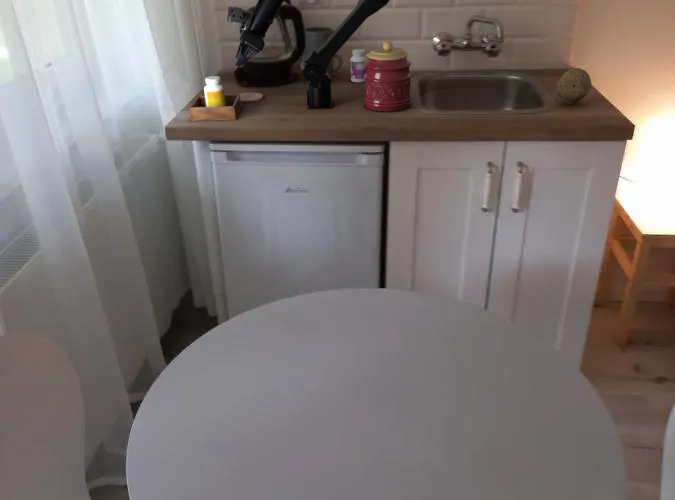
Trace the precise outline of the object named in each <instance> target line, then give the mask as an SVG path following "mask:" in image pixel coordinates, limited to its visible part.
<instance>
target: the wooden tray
mask: <svg viewBox="0 0 675 500" xmlns="http://www.w3.org/2000/svg"><path fill="white" fill-rule="evenodd" d="M237 94H238V95H237ZM237 94H224V95H225V105H226V106H219V107H206V101H205V94H204V95H197V96H196V97H195V99H194V100H193V101H192V103H191V105H190V106H189V107H188V110H189V117H190V121H191V122H196V121H198V122H201V121H204V122H205V121H232V120H233V121H234V120H235V121H236V120H237V118H238V116H239V113H240V111H241V109H242V102H241V98H240V94H241V93H237Z"/></svg>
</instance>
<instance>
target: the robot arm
mask: <svg viewBox="0 0 675 500" xmlns="http://www.w3.org/2000/svg"><path fill="white" fill-rule="evenodd" d="M389 2H390V0H358V1H357V3H356V5H355V7H354V8H353V9H352V11H351V12H350V13H349V14H348V15H347V16H346V17H345V18H344V20H343V21H341V23H340V24H339V25H338V27H337V28H336V29H335V30H334V31H333V32H332V33H331V35H330V36H329V37H328V38H327V39H326V40H325V41H324V43H322V45H320V46H319V47H318V48H316V49H315V48H314V47H313V46H311V47H310V48H309V50H308V51H307V52H306V53H305V54H304V55H302V56H301V57H302V60H301V61H300V70H301V73H302V75H303V77H304V79H306V80H307V81H308V87H307V88H306V105H308V109H331V108H332V107H333V101H332V78H331V76H330V74H329V72H328V71H327V69H328V68H329V65H330V63H331V61H332V59H333V57H334V56H335V55H336V54H337V53H338V52H339V51H340V49H341V48H342V47H344V45H345V44H346V42H348V40H349V39H350V38H351V37H352V36H353V35H354V33H355V32H356V31H358V29H359V28H360V27H361V26H362V25H363V24H364V22H366V20H367V19H368V18H369V17H371V16H372V15H374V14H376V13H377V12H379V11H380V10H381V9H383V8H384V7H385V6H387V5H388V3H389ZM283 3H286V4H287V5H289V6H291V5H292V1H291V0H257V2H256V4H255V6H253V7H251V9H250V10H247V9H243V8H242V7H237V6H235V7H234V6H228V10H227V18H226V21H227V22H229V23H237V24H240V25H239V36H240V37H239V44H238V48H237V50H236V53H235V59H236V61H235V66H236V67H238V68H240V67H241V66H242V65H244V64H246V63H247V62H248V61H249V60H251V58H253V57H254V56H256V55H258V53H260V52H262V51H263V50H264V48H265V45H266V43H265V40H264V39H265V38H266V36H267V34H266V33H268V30H269V28H270V26H272V25H273V23H274V19H275V17H276V16H277V15H278V12H279V11H280V9H281V7H282V5H283Z"/></svg>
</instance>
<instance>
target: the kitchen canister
mask: <svg viewBox="0 0 675 500" xmlns="http://www.w3.org/2000/svg"><path fill="white" fill-rule="evenodd" d="M408 57H409V53H408V52H407V51H405V50H404V49H403V48H402V47H397V46H394V45H393V43H392V42H391V41H390V40H386V41H384V42H383V45H382V46H380V47H375V48H373V49H372V50H371V51H370V52H368V53H367V54H366V58H367V61H366V62H365V63H364V66H365V67H366V74H365V75H364V78H365V82H364V97H363V98H364V100H363V101H364V103H365V104H364V106H365V107H366V108H367V109H369V110H372V111H377V112H397V111H402V110H405V109H407V108H408V107H410V103H411V78H412V74H411V73H410V67H411V66H412V62H411V60H409V59H408Z"/></svg>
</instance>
